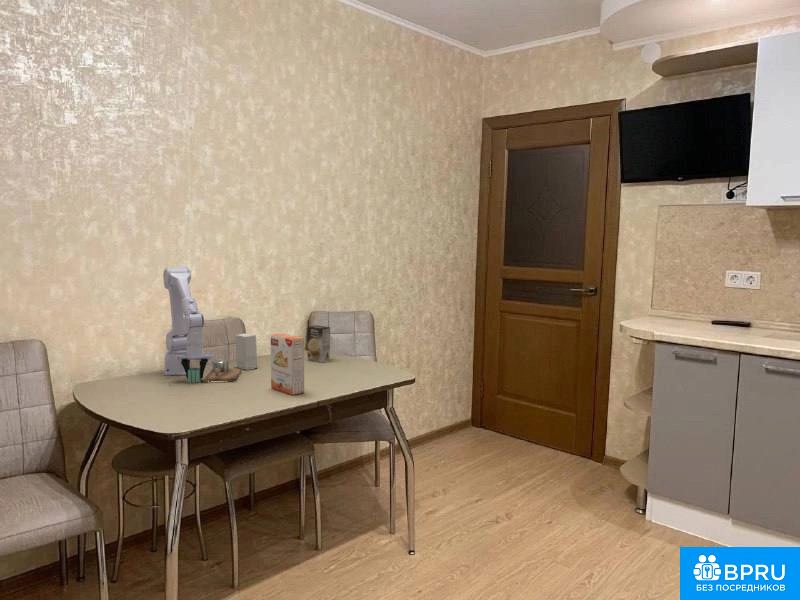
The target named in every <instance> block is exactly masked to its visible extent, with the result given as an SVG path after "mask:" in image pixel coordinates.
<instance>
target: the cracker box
mask: <svg viewBox="0 0 800 600" xmlns="http://www.w3.org/2000/svg"><path fill="white" fill-rule="evenodd" d="M270 388H271V389H273V390H276V391H279V392H282V393H285V394H287V395H290V396H295V395H299V394H304V393H305V338H303V337H300V336H295V335H291V334H287V333H275V334H270Z"/></svg>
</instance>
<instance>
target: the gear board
mask: <svg viewBox="0 0 800 600" xmlns="http://www.w3.org/2000/svg"><path fill="white" fill-rule="evenodd" d="M242 370H243V369H241V368H229V371H226V372H219V368H215V372H214V371H213V368H212V369H211V370H210V371H209V373H208V374H207V375H206V376H205V377H204V378H203V379H204V383H212V382H211V381H232V382H231V383H234V382H233V381H236V380H237V381H238V379H239V378H238V377H240V376H241V374H242V373H243V371H242ZM241 372H242V373H241ZM240 373H241V374H240ZM239 375H240V376H239ZM237 378H238V379H237ZM208 381H209V382H208ZM237 381H236V382H237Z"/></svg>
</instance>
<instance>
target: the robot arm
mask: <svg viewBox="0 0 800 600" xmlns="http://www.w3.org/2000/svg"><path fill="white" fill-rule="evenodd" d="M162 276H163V277H162V278H163V286H164V288H165V289H166V290H168V294H169V305H170V314H171V324H172V325H171V326H172V329H171V330H169V332H167V334H166V335H165V336H166V338H165V347H166V350H167V352H165V354H164V375H165V376H176V375H177V376H184V375H186V379H188V370H189V369H190V368H191V367H190V366H191V365H190V363H191V361H193V360H194V361H196V360H198V361H199V367H200V378H202V379H204V373H205V369H206V366H207V364H208V363H209V361H215V360H214V359H215V354H213V353H212V354H211V353H210V354H209V353H208V354H207V353H203V330H202V329H203V328H204V325H205V318H204V314H203V313H202V311H201V310H199V307H198V305H197V300H196V299H195V297H194V298H193V297H192V292H191V288H190V282H191V279H192V271H191V269H190V268H189V267H187V266H186V267H165V268H164V269H163V274H162Z"/></svg>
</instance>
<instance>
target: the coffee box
mask: <svg viewBox="0 0 800 600" xmlns="http://www.w3.org/2000/svg"><path fill="white" fill-rule="evenodd" d="M306 339H307V344H306V345H307V346H306V347H307V349H306V350H307V353H306V355H307V356H306V357H307V358H306V360H307V361H308V362H315V363H321V364H323V363H326V362H330V360H331V358H330V355H331V353H330V352H331V327H330V326H323V325H316V324H313V325H309V326H307V338H306Z"/></svg>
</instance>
